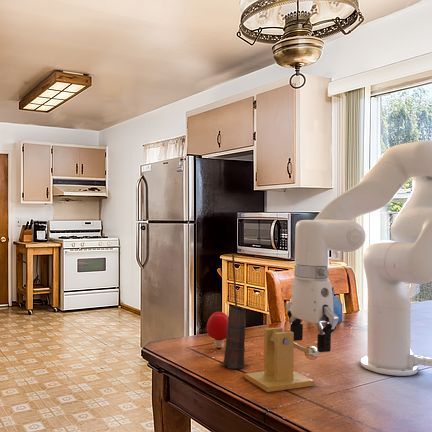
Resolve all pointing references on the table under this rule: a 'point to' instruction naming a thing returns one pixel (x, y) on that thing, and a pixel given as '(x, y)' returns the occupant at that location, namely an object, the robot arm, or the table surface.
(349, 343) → the table surface
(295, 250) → the robot arm
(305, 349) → the switch lever
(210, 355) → the table surface
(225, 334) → the red rounded lump
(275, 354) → the bracket
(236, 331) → the butter churn
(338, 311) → the perfume bottle
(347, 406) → the table surface
